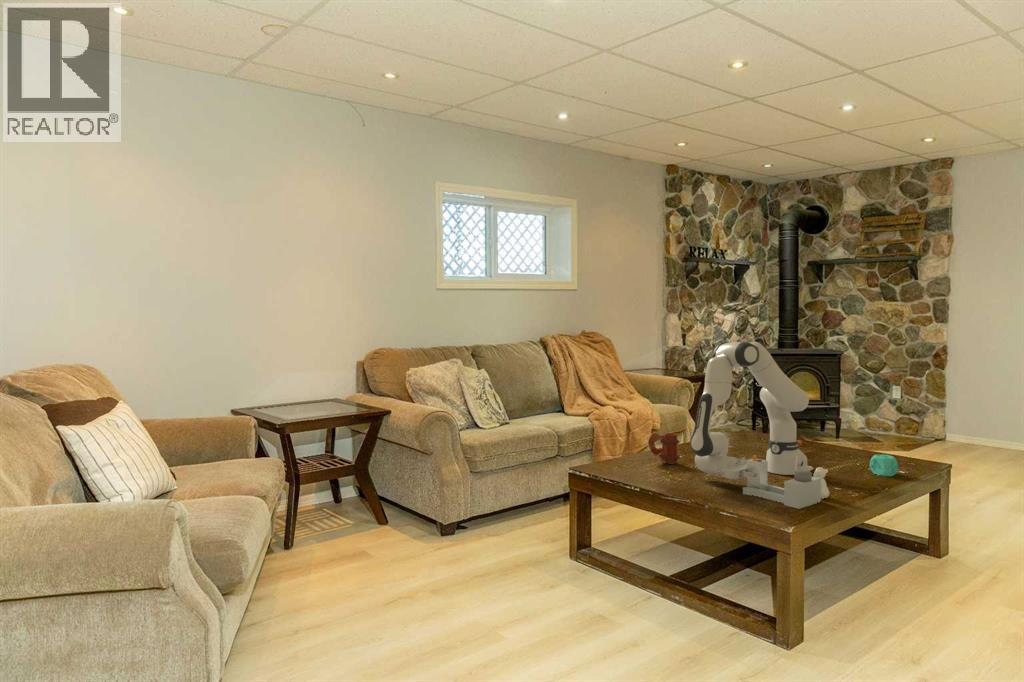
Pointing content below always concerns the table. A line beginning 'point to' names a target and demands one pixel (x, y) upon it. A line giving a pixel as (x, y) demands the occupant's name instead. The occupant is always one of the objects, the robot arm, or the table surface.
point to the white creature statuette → (822, 481)
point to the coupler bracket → (792, 490)
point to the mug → (665, 447)
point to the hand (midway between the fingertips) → (759, 474)
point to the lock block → (757, 473)
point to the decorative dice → (883, 465)
